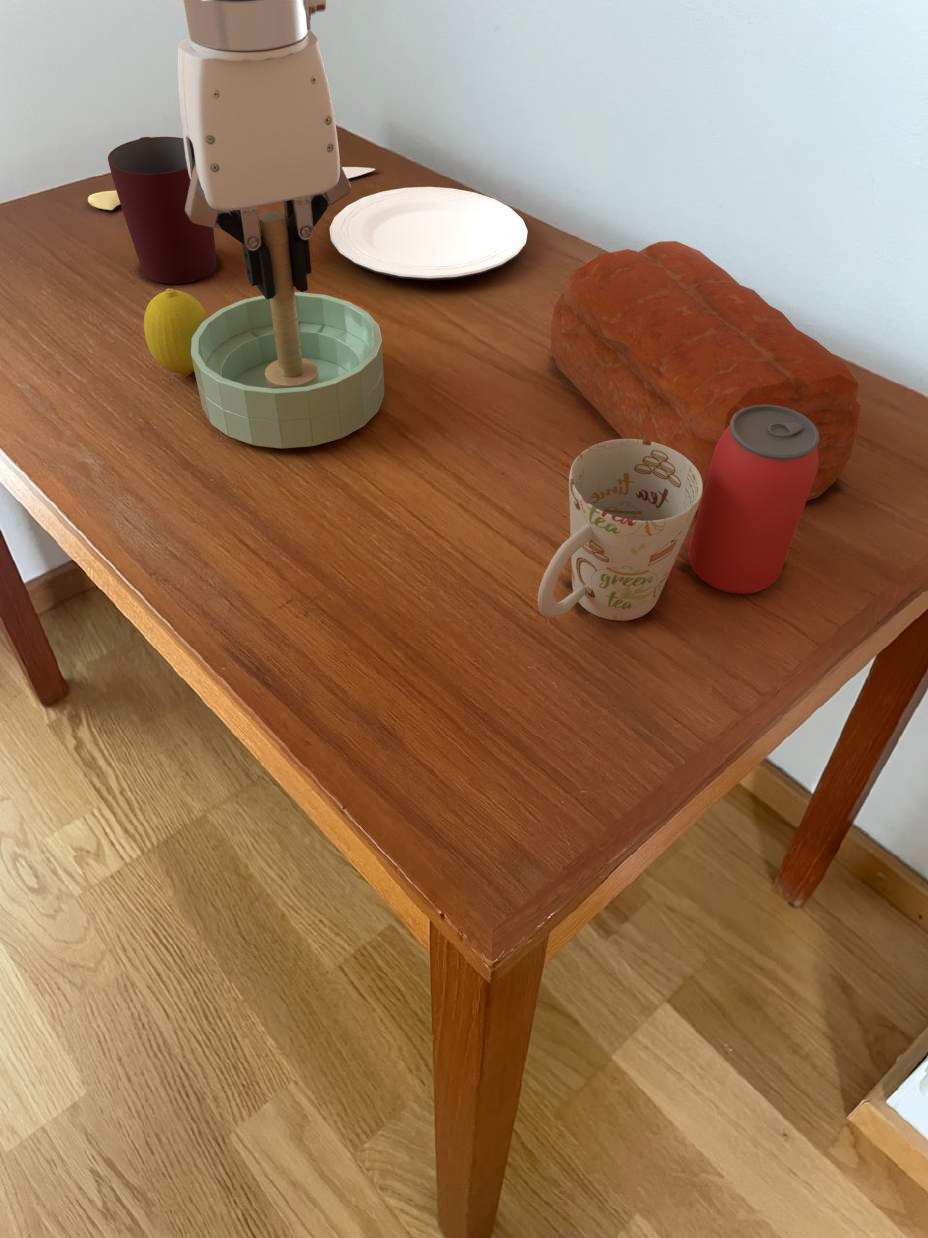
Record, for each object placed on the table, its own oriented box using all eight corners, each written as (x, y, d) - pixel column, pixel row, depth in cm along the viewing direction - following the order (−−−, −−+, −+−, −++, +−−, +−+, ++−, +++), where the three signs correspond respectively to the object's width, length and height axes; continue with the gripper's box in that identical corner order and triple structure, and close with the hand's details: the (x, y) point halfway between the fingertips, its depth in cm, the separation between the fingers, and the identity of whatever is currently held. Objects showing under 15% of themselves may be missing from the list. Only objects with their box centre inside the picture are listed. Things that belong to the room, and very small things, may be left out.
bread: (676, 323, 93) (697, 214, 85) (860, 486, 76) (908, 369, 68) (531, 356, 88) (541, 244, 80) (695, 538, 72) (726, 419, 64)
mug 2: (698, 589, 68) (729, 477, 61) (588, 689, 62) (608, 578, 54) (603, 534, 72) (622, 422, 64) (491, 623, 65) (497, 510, 58)
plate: (302, 277, 97) (300, 259, 96) (365, 192, 111) (364, 175, 110) (504, 306, 94) (505, 288, 93) (543, 215, 108) (544, 198, 107)
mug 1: (121, 242, 102) (94, 132, 94) (205, 228, 104) (185, 119, 96) (144, 295, 94) (117, 180, 86) (233, 278, 97) (215, 165, 89)
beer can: (796, 588, 68) (849, 451, 59) (711, 606, 67) (753, 468, 58) (751, 528, 72) (794, 392, 64) (671, 544, 71) (704, 407, 62)
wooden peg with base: (276, 401, 79) (253, 234, 69) (258, 374, 82) (233, 209, 71) (327, 388, 80) (311, 222, 70) (307, 361, 83) (290, 198, 73)
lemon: (213, 392, 83) (196, 307, 77) (148, 391, 83) (127, 305, 77) (224, 358, 87) (209, 274, 81) (163, 356, 87) (143, 272, 81)
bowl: (237, 476, 75) (225, 411, 71) (182, 378, 85) (168, 315, 80) (413, 426, 80) (412, 363, 76) (343, 338, 90) (338, 277, 85)
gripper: (340, -12, 66) (356, 246, 80) (107, 15, 61) (166, 287, 75) (385, 19, 62) (394, 287, 75) (137, 51, 57) (194, 333, 70)
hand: (280, 285), depth 75 cm, fingers closed on wooden peg with base, 2 cm apart
